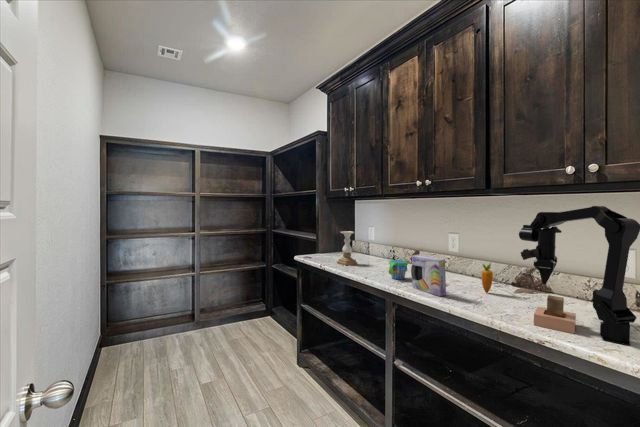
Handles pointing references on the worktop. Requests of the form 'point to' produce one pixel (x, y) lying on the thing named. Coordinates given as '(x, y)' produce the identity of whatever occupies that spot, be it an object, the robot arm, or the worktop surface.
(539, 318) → the frame
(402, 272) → the snack cup
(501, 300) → the worktop surface
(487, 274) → the carrot
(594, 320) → the worktop surface
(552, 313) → the walnut peg
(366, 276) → the worktop surface
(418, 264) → the cake pan box
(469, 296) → the worktop surface
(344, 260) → the candle holder
